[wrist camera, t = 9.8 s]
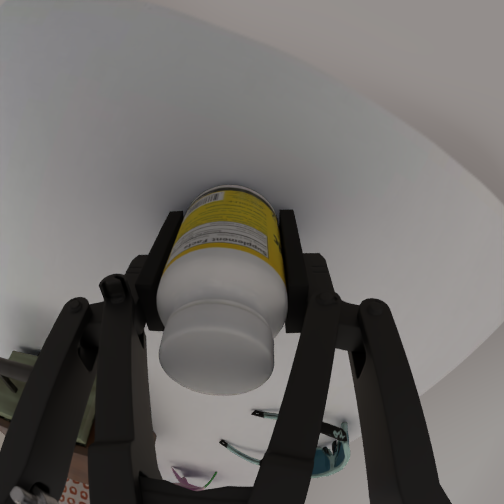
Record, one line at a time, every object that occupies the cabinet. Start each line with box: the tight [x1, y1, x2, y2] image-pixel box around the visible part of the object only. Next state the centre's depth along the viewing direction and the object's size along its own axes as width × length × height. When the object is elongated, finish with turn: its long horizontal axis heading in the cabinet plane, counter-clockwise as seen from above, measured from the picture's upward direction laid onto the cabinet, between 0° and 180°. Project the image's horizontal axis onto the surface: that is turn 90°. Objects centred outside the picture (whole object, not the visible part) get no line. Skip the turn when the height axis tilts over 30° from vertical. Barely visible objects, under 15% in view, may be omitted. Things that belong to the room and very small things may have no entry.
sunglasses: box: [219, 410, 350, 478], centre depth 34 cm, size 14×15×5 cm
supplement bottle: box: [157, 185, 288, 395], centre depth 14 cm, size 5×5×10 cm
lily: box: [171, 467, 217, 491], centre depth 43 cm, size 12×12×10 cm
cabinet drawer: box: [0, 351, 97, 447], centre depth 26 cm, size 20×13×8 cm, turn 1°
